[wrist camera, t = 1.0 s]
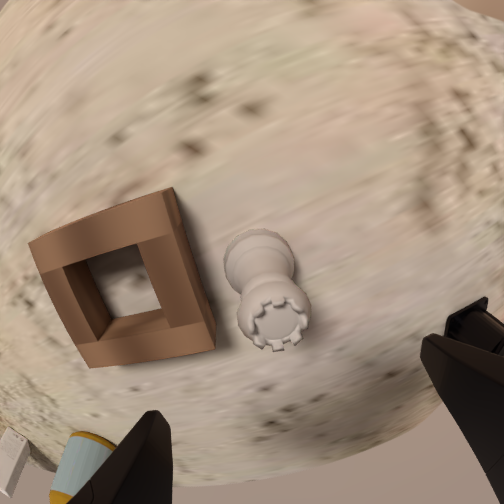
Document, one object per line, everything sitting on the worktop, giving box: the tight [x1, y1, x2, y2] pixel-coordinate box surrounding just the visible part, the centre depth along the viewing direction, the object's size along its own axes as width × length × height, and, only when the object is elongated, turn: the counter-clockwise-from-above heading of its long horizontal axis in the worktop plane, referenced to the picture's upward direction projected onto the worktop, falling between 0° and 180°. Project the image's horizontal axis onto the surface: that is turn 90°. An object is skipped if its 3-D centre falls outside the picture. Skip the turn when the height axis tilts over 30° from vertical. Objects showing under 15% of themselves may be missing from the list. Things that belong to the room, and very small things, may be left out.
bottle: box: [49, 431, 116, 504], centre depth 18 cm, size 7×7×15 cm
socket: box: [28, 187, 216, 368], centre depth 17 cm, size 10×10×3 cm
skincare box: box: [0, 426, 31, 498], centre depth 20 cm, size 6×4×12 cm
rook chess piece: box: [224, 229, 311, 352], centre depth 15 cm, size 4×4×8 cm
